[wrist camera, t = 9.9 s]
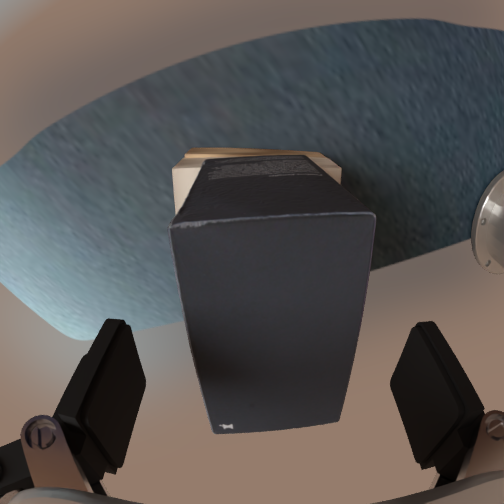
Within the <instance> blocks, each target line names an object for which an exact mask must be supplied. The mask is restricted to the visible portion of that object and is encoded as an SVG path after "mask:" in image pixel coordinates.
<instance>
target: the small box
mask: <svg viewBox="0 0 504 504" xmlns="http://www.w3.org/2000/svg"><path fill="white" fill-rule="evenodd" d="M375 227H376V215H375V214H374V213H373V212H372V211H371V210H369V209H368V208H367V207H366V206H365V205H364V204H362V203H361V202H360V201H359V200H358V199H357V198H356V197H354V196H353V195H352V194H351V193H350V192H349V191H347V190H346V189H345V188H344V187H343V186H342V185H340V184H339V183H338V182H337V181H336V180H334V179H333V178H332V177H331V176H330V175H329V174H328V173H326V172H325V171H324V170H323V169H322V168H320V167H319V166H318V165H317V164H316V163H314V162H313V161H312V160H311V159H310V158H309V157H307V156H306V155H263V156H243V157H227V158H214V159H206V160H205V161H203V163H202V166H201V168H200V171H199V172H198V175H197V177H196V179H195V181H194V183H193V185H192V187H191V188H190V190H189V193H188V195H187V197H186V198H185V201H184V202H183V204H182V206H181V208H180V209H179V211H178V213H177V214H176V216H175V217H174V218H173V219H172V220H171V222H170V224H169V226H168V235H169V241H170V248H171V254H172V259H173V265H174V270H175V276H176V282H177V287H178V293H179V297H180V302H181V306H182V312H183V317H184V321H185V326H186V330H187V335H188V340H189V345H190V349H191V353H192V357H193V361H194V366H195V369H196V373H197V377H198V380H199V385H200V389H201V393H202V397H203V401H204V405H205V408H206V412H207V415H208V419H209V422H210V426H211V430H212V432H213V433H214V434H229V433H230V434H234V433H250V432H264V431H275V430H285V429H292V428H301V427H309V426H316V425H323V424H328V423H334V422H338V421H339V419H340V415H341V411H342V408H343V404H344V400H345V396H346V392H347V387H348V383H349V379H350V375H351V370H352V366H353V361H354V356H355V352H356V347H357V341H358V337H359V332H360V327H361V322H362V316H363V311H364V304H365V298H366V293H367V286H368V280H369V274H370V267H371V260H372V252H373V243H374V236H375Z"/></svg>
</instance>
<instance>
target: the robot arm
mask: <svg viewBox="0 0 504 504" xmlns="http://www.w3.org/2000/svg"><path fill="white" fill-rule="evenodd" d="M471 243H472V250H473V253H474V256H475V259H476V260H477V262H478V263H479V264H480V265H481V266H482V267H483V268H484V269H485V270H486V271H488V272H489V273H493V274H502V273H504V171H502V172H501V173H499V174H498V175H497V176H496V177H495V178H494V179H493V180H492V181H491V182H490V184H489V185H488V187H487V188H486V189H485V191H484V193H483V195H482V197H481V198H480V201H479V203H478V206H477V208H476V212H475V215H474V219H473V224H472V231H471ZM145 387H146V379H145V375H144V372H143V369H142V365H141V362H140V359H139V355H138V352H137V348H136V345H135V341H134V338H133V334H132V330H131V327H130V325H126V322H125V321H124V320H120V319H109V318H108V319H106V321H105V322H104V324H103V326H102V328H101V329H100V331H99V333H98V335H97V337H96V338H95V340H94V342H93V344H92V346H91V348H90V350H89V351H88V353H87V354H86V355H84V356H83V358H82V359H81V361H80V363H79V364H78V366H77V369H76V370H75V372H74V374H73V376H72V378H71V380H70V382H69V384H68V386H67V388H66V390H65V392H64V394H63V396H62V398H61V400H60V402H59V404H58V406H57V408H56V410H55V413H54V415H53V417H50V416H48V415H38V416H35V417H33V418H31V419H29V420H28V421H27V422H26V423H25V424H24V426H23V428H22V430H21V434H20V436H21V439H19V440H16V441H14V442H11V443H9V444H7V445H4V446H2V447H0V504H142V503H137V502H131V501H127V500H122V499H118V498H113V497H111V496H110V495H109V493H108V491H107V489H106V487H105V485H104V483H103V482H102V479H103V476H104V473H105V472H107V473H112V474H116V472H117V468H121V467H122V466H123V463H124V460H125V456H126V452H127V448H128V445H129V442H130V438H131V435H132V431H133V428H134V424H135V420H136V417H137V414H138V411H139V407H140V404H141V400H142V397H143V394H144V391H145ZM390 387H391V390H392V393H393V396H394V399H395V401H396V404H397V407H398V410H399V413H400V416H401V418H402V421H403V424H404V427H405V430H406V433H407V436H408V439H409V442H410V445H411V448H412V452H413V455H414V458H415V460H416V462H417V463H420V466H421V469H422V470H423V469H427V468H431V467H434V466H435V467H436V470H437V473H436V475H435V477H434V479H433V482H432V484H431V486H430V488H429V490H426V491H423V492H419V493H415V494H412V495H408V496H404V497H400V498H396V499H392V500H387V501H382V502H377V503H372V504H504V412H502V411H498V410H492V411H489V412H487V413H486V414H485V413H484V411H483V410H484V406H483V404H482V402H481V400H480V399H479V397H478V395H477V393H476V391H475V389H474V387H473V386H472V384H471V382H470V380H469V378H468V377H467V375H466V373H465V371H464V370H463V368H462V366H461V364H460V363H459V361H458V359H457V358H456V356H455V354H454V353H453V351H452V349H451V348H450V346H449V344H448V343H447V341H446V340H445V338H444V336H443V335H442V333H441V332H440V330H439V329H438V327H437V325H436V324H435V323H434V322H433V321H428V322H418V323H417V324H416V326H415V327H413V328H412V329H411V331H410V334H409V337H408V339H407V342H406V344H405V347H404V349H403V352H402V354H401V357H400V359H399V362H398V364H397V366H396V368H395V371H394V373H393V375H392V377H391V381H390Z"/></svg>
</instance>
